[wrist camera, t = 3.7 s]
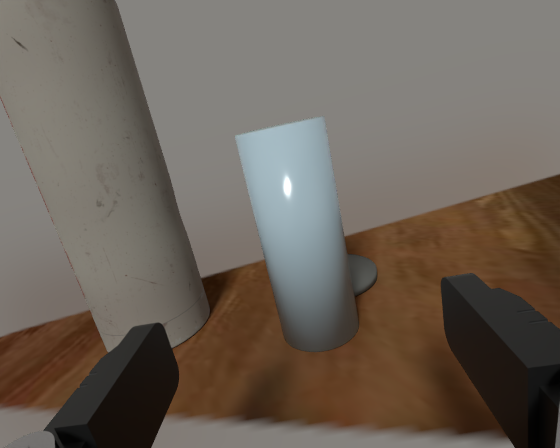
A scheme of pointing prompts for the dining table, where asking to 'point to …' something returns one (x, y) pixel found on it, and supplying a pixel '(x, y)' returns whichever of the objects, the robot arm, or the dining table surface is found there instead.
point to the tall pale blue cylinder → (301, 232)
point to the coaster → (361, 273)
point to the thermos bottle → (99, 164)
